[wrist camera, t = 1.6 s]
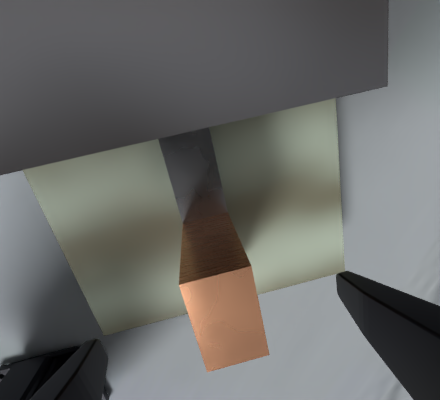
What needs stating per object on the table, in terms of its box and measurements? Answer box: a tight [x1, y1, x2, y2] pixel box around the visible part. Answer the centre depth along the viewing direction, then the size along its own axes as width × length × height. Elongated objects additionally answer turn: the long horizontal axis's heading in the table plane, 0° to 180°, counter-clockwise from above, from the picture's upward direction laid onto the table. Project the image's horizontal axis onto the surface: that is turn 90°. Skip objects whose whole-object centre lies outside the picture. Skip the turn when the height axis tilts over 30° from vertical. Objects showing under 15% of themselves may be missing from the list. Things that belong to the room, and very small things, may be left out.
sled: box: [158, 127, 269, 372], centre depth 9 cm, size 16×6×6 cm, turn 12°
